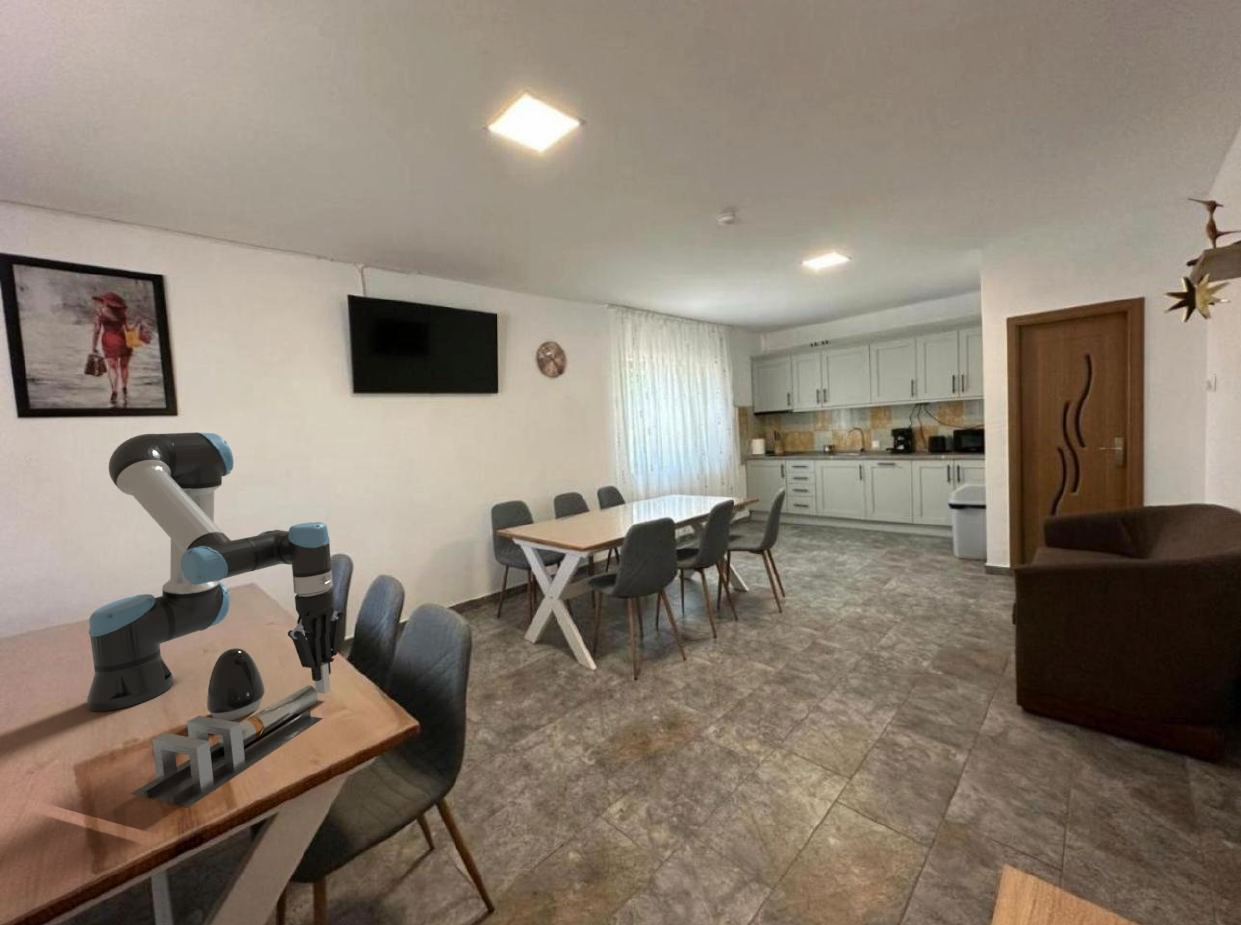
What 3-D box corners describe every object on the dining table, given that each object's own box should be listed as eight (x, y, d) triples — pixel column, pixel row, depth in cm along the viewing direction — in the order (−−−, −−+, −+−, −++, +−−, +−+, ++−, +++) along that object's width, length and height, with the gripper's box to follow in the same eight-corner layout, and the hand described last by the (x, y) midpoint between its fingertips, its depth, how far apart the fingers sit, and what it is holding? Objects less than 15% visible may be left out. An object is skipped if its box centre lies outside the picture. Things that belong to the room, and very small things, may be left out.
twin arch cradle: (131, 798, 87) (125, 748, 86) (274, 714, 112) (270, 675, 111) (188, 812, 83) (182, 760, 82) (323, 722, 107) (319, 682, 107)
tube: (239, 751, 95) (230, 729, 96) (224, 756, 97) (216, 735, 97) (320, 701, 113) (313, 682, 113) (307, 706, 114) (299, 687, 114)
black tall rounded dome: (221, 734, 105) (213, 664, 104) (200, 721, 110) (193, 654, 109) (275, 710, 114) (268, 644, 113) (254, 698, 119) (247, 636, 118)
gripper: (301, 601, 107) (311, 708, 108) (350, 583, 119) (358, 679, 121) (274, 600, 109) (284, 704, 110) (325, 581, 121) (333, 676, 123)
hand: (323, 691), depth 116 cm, fingers closed
